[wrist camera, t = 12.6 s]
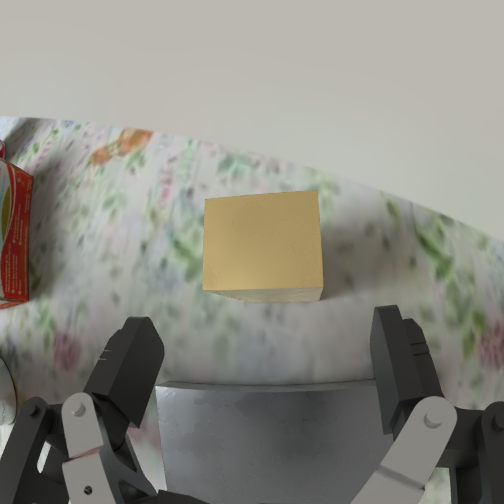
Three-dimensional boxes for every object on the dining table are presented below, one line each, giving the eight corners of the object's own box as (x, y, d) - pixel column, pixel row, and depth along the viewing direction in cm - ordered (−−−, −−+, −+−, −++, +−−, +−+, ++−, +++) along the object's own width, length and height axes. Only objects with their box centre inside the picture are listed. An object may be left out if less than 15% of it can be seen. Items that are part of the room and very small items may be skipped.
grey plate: (179, 490, 19) (169, 501, 17) (168, 381, 21) (155, 386, 19) (408, 490, 16) (414, 502, 14) (419, 372, 18) (429, 377, 16)
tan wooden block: (253, 303, 21) (202, 290, 11) (253, 251, 22) (205, 199, 12) (318, 301, 20) (323, 286, 11) (316, 248, 21) (317, 190, 11)
